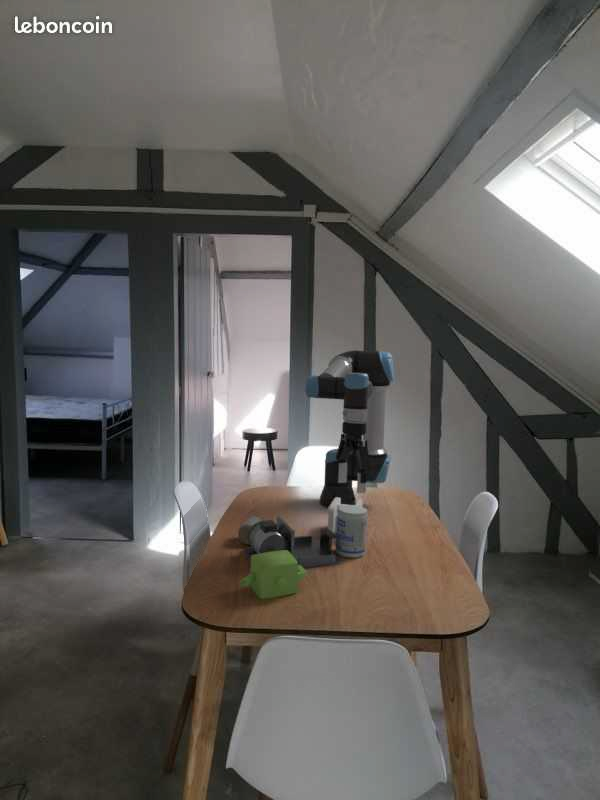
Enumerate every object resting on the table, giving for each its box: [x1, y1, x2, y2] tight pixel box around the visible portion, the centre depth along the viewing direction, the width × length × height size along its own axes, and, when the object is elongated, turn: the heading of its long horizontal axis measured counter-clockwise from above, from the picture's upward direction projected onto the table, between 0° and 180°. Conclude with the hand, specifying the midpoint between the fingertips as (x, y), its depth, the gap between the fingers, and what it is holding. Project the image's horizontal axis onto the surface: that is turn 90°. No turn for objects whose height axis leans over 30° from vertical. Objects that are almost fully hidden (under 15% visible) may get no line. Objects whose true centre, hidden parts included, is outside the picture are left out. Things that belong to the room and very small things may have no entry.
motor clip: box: [242, 516, 341, 569], centre depth 172 cm, size 27×18×12 cm, turn 111°
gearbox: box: [240, 550, 308, 600], centre depth 148 cm, size 18×10×10 cm, turn 113°
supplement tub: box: [335, 505, 368, 559], centre depth 177 cm, size 10×10×15 cm
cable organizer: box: [326, 497, 364, 535], centre depth 196 cm, size 15×11×12 cm
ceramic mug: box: [237, 516, 263, 546], centre depth 184 cm, size 11×8×8 cm
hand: (351, 487), depth 176 cm, fingers open, 13 cm apart
